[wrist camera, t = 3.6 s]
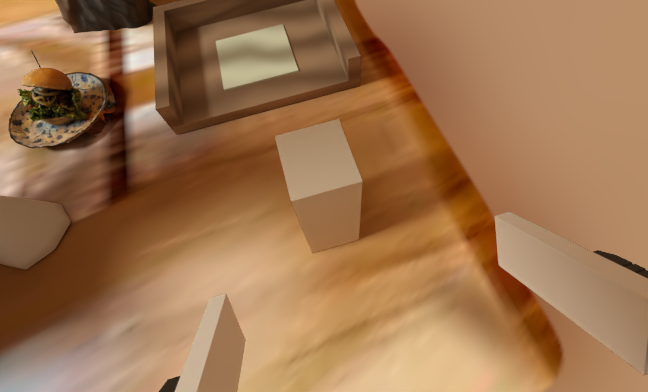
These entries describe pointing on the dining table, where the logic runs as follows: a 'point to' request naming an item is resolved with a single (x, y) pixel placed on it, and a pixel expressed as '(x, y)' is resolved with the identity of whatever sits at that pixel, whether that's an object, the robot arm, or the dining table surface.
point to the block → (322, 183)
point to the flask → (29, 230)
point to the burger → (59, 107)
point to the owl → (105, 14)
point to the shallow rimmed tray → (247, 57)
